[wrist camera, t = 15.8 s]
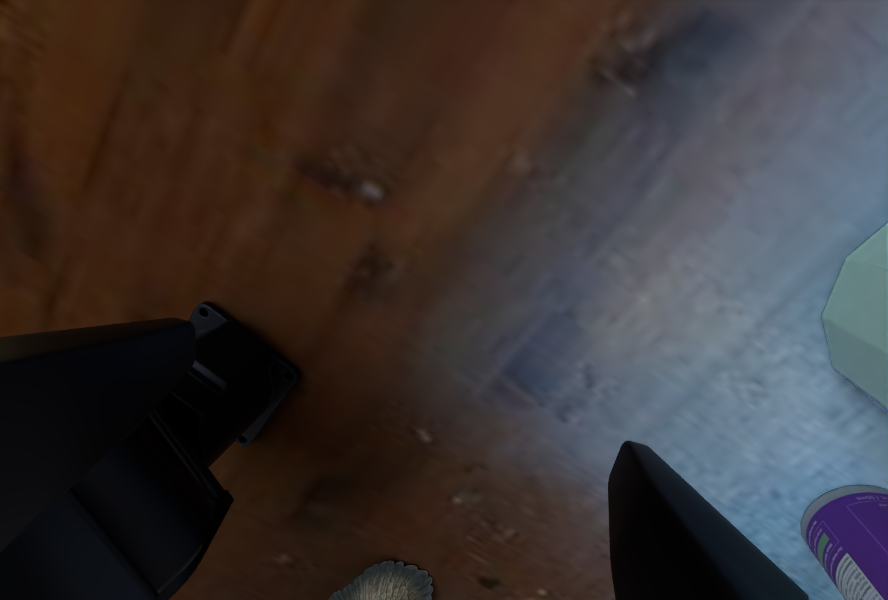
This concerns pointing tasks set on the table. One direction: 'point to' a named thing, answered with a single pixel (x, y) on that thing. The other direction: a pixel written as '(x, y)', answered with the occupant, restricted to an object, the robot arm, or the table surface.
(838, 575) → the container
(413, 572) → the grey-brown animal figure
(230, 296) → the table surface
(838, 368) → the pale green faceted ring
